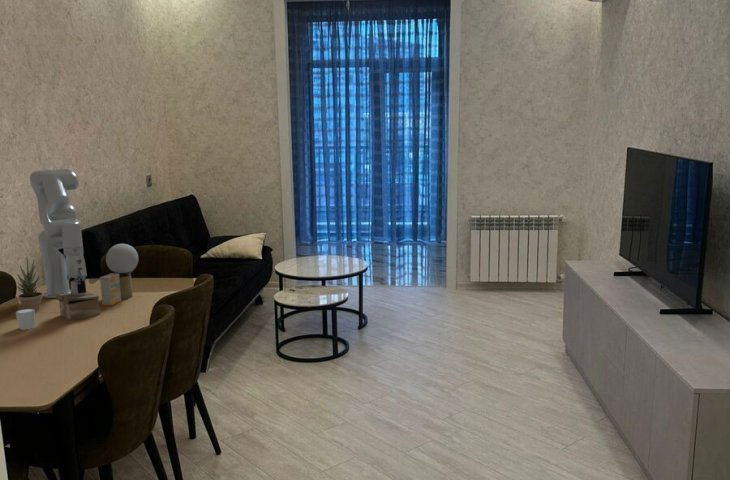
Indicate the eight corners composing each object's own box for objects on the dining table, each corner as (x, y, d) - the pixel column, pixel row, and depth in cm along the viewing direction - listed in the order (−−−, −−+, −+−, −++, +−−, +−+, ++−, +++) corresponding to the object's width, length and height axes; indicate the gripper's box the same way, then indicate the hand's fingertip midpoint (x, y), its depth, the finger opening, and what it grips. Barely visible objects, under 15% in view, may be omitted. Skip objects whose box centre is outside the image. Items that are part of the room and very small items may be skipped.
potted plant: (47, 310, 295) (41, 255, 290) (25, 315, 288) (18, 258, 283) (38, 306, 301) (32, 252, 297) (16, 311, 295) (9, 255, 290)
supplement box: (112, 306, 299) (109, 277, 296) (102, 305, 299) (99, 277, 297) (122, 301, 306) (119, 273, 304) (112, 300, 307) (109, 272, 305)
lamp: (141, 291, 323) (137, 240, 318) (141, 298, 310) (137, 245, 305) (107, 294, 318) (102, 242, 314) (106, 302, 305) (101, 248, 301)
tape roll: (68, 294, 285) (68, 280, 284) (82, 293, 289) (82, 279, 288) (74, 297, 281) (73, 282, 280) (87, 295, 285) (87, 281, 284)
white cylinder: (40, 325, 272) (38, 309, 271) (27, 331, 266) (24, 313, 264) (27, 324, 274) (25, 307, 273) (13, 329, 268) (11, 312, 267)
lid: (56, 299, 285) (56, 294, 285) (87, 296, 294) (87, 291, 294) (67, 304, 276) (67, 299, 276) (98, 301, 285) (98, 296, 285)
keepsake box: (60, 315, 287) (58, 299, 285) (88, 309, 295) (87, 293, 294) (71, 320, 278) (69, 304, 277) (100, 314, 286) (98, 298, 285)
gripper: (90, 252, 278) (95, 292, 281) (74, 247, 290) (78, 286, 293) (72, 254, 273) (76, 296, 276) (56, 249, 285) (61, 289, 288)
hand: (77, 290), depth 285 cm, fingers open, 8 cm apart
